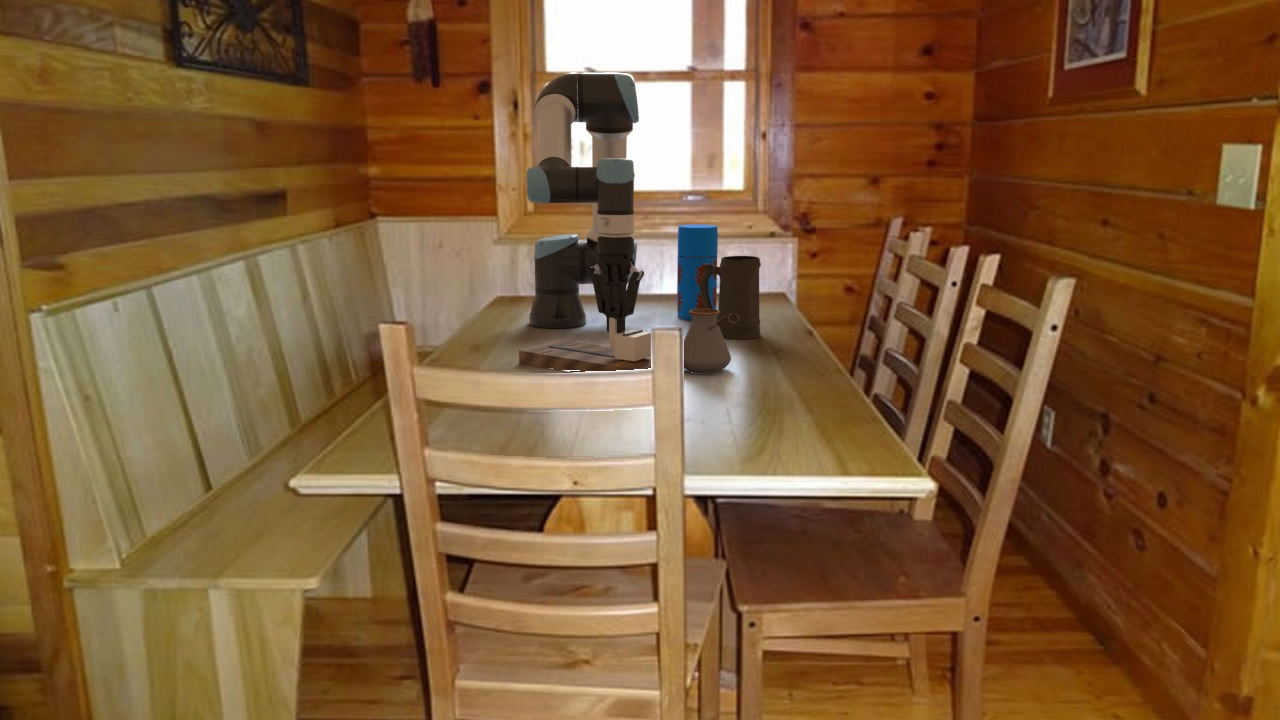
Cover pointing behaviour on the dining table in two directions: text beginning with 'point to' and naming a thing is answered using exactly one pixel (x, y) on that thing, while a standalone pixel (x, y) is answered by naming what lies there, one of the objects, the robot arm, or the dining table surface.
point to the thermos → (695, 266)
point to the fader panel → (577, 357)
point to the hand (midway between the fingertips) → (615, 347)
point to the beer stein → (736, 295)
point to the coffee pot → (706, 342)
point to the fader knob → (633, 345)
